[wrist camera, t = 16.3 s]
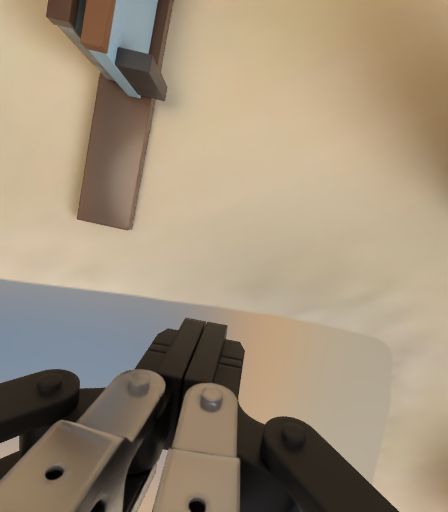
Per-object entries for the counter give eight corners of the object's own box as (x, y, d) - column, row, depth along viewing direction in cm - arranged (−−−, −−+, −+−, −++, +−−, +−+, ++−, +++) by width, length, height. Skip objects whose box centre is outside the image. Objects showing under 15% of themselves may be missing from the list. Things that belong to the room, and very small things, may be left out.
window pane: (191, -26, 31) (175, -148, 20) (166, 104, 33) (140, 56, 22) (149, -36, 31) (110, -165, 20) (126, 95, 33) (79, 42, 22)
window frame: (185, -65, 32) (162, -241, 20) (131, 229, 36) (82, 244, 23) (130, -79, 32) (70, -265, 19) (82, 218, 36) (5, 227, 23)
